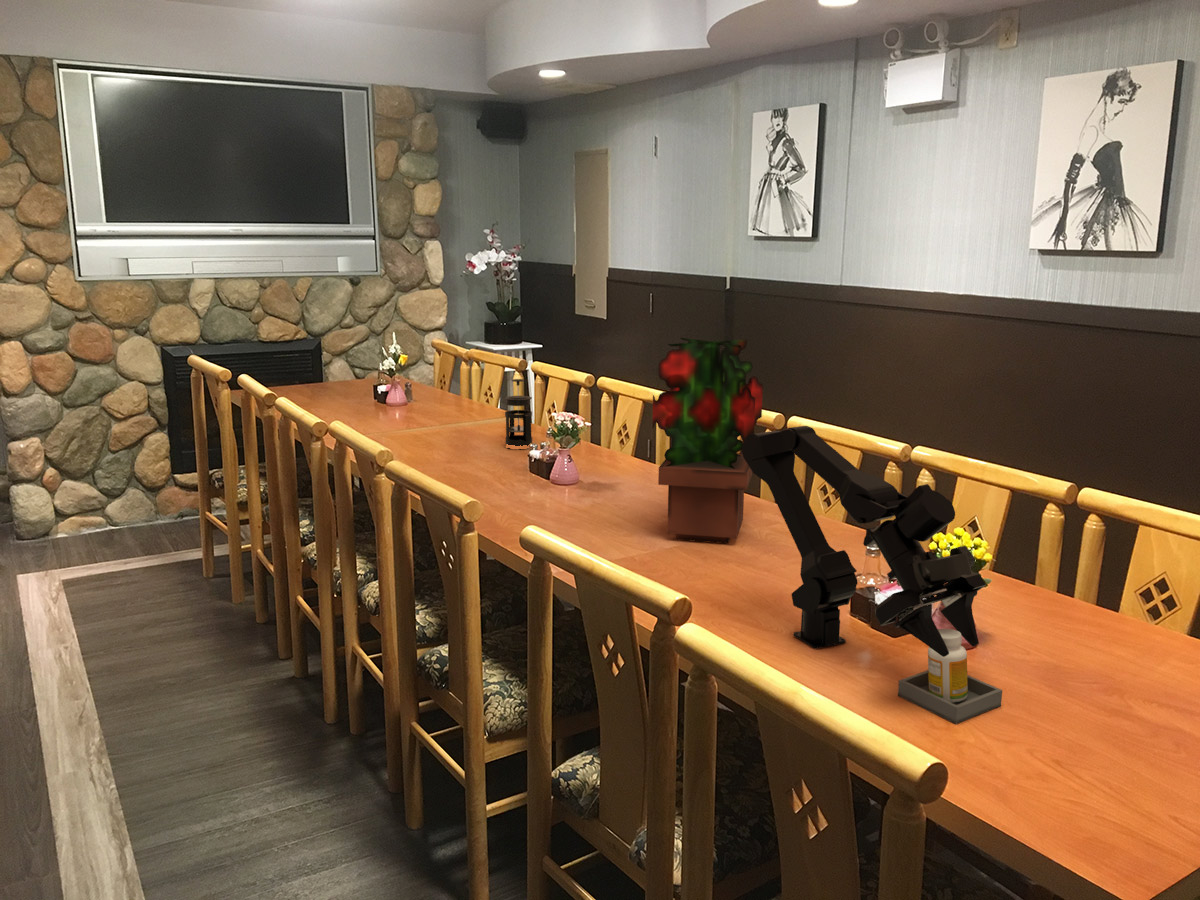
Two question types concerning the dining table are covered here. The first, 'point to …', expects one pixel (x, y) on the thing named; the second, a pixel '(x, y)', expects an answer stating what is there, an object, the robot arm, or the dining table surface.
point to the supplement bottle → (949, 668)
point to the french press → (512, 414)
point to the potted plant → (706, 437)
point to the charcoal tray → (975, 704)
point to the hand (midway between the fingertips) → (961, 650)
